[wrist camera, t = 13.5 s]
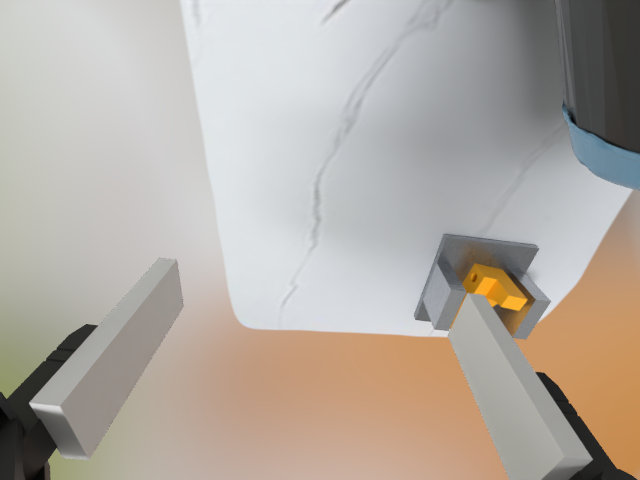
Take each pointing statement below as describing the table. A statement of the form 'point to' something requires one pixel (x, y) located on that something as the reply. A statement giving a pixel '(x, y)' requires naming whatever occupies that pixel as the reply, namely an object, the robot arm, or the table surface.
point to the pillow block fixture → (456, 264)
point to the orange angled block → (493, 287)
